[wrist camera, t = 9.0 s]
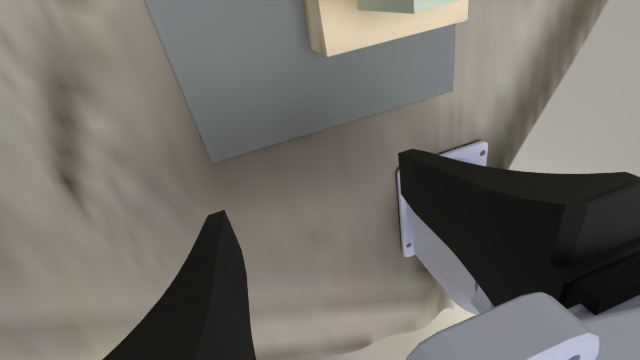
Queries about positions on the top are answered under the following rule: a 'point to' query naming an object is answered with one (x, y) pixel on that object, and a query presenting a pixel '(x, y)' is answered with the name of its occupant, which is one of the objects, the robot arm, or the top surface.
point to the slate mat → (287, 72)
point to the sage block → (401, 5)
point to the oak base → (369, 24)
